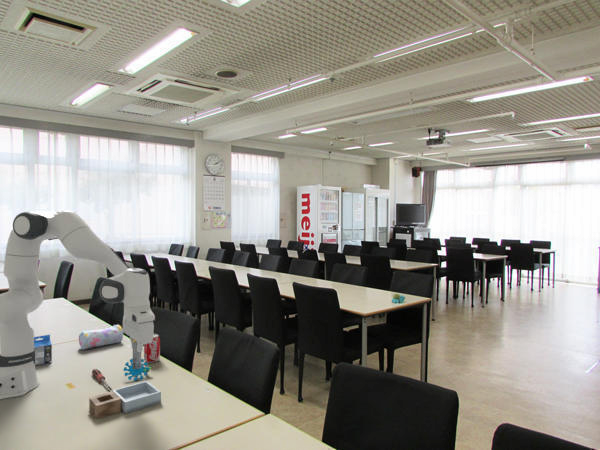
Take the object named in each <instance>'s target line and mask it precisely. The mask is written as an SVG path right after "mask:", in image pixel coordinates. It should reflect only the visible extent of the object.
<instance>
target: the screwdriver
mask: <svg viewBox="0 0 600 450" xmlns="http://www.w3.org/2000/svg"><path fill="white" fill-rule="evenodd" d="M91 374H92V376H93V378H94V379H96V380H97V381H98V382H99V383H103V384H104V385H105V386H106V388H107V389H108V390H110V391H112V390H113V389H112V387H111V386H110V385H109V384H108V383H107V382H106V381H105V380H106V377H105V376H104V375H103V374H102V372H101V371H100V370H99V369H97V368H93V369H92V370H91Z"/></svg>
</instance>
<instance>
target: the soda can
mask: <svg viewBox="0 0 600 450" xmlns="http://www.w3.org/2000/svg"><path fill="white" fill-rule="evenodd" d="M160 357H161V338H160V336H159V334H157V333H154V334H153V341H152V342H151V343H148V344H144V345H143V359H144V362H147V363H150V364H152V363H156V362H158V361H159V360H160Z"/></svg>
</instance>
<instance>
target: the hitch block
mask: <svg viewBox="0 0 600 450" xmlns="http://www.w3.org/2000/svg"><path fill="white" fill-rule="evenodd" d="M88 399H89V400H88V401H89V402H88V403H89V404H88V406H89V407H88V410H89V412H90V413H91V415H92V416H93V417H94V418H95V419H96V420H98V419H101V418H104V417H108V416H110V415H114V414H118V413H121V412H122V410H121V398H119V397H118V396H117V395H116V394H115V393H114V392H112V391H110V392H107V393H102V394H99V395H95V396H91V397H89V398H88Z"/></svg>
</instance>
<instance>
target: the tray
mask: <svg viewBox="0 0 600 450" xmlns="http://www.w3.org/2000/svg"><path fill="white" fill-rule="evenodd" d="M111 392H114V393H115V394H116V395H117V396H118V397H119V398H121V412H123V414H129V413H132V412H135V411H138V410H141V409H145V408H147V407H151V406H154V405H157V404H160V403H162V391H161V390H160V389H158V388H157V387H156V386H154V385H153V384H152V383H150V382H149V381H148V380H145V381H144V380H143V381H141V382H137V383H134V384H130V385H126V386H123V387H120V388H119V387H118V388H115V389H112V390H111Z"/></svg>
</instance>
